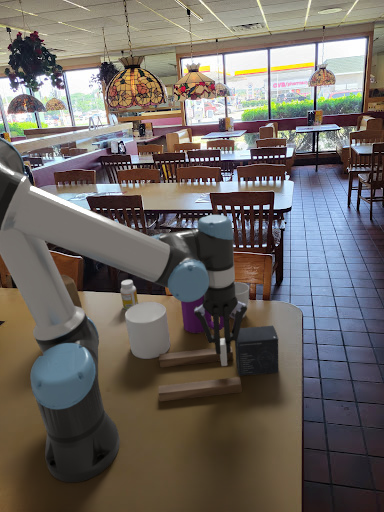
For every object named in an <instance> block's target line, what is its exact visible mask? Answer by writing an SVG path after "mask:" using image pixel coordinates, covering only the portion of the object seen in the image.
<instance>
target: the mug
mask: <svg viewBox="0 0 384 512" xmlns="http://www.w3.org/2000/svg"><path fill="white" fill-rule="evenodd" d="M203 300H204V295H203V296H202V297H201V298H199V299H198V300H195V301H192V302H182V301H180V304H181V305H180V306H181V315H182V323H183V329H184V330H185V331H187V332H189V333H191V334H192V333H193V334H201V333H205V332H204V330H203V327H202V325H201V322H200V320H199V319H198V318H197V317H196V316H195V311H194V308H195V307H199V306H201V305H202V302H203ZM204 311H205V314H204V316H205V318H206V321H207V324H208V326H209V329H212V330H213V331H214V325H213V317H212V316H211V315H210V314H209V313H208V312H207V311H206V310H204ZM222 329H224V323H223V317H219V330H220V331H221V330H222Z"/></svg>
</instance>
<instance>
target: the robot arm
mask: <svg viewBox="0 0 384 512" xmlns="http://www.w3.org/2000/svg"><path fill="white" fill-rule="evenodd" d="M24 163H25V162H24V159H23V157H22V155H21V153H20V151H19V150H18V149H17V147H15V146H14V145H13V144H12V143H11V142H9V141H8V140H7V139H4V138H2V137H0V257H1V259H2V261H3V262H4V265H5V267H6V268H7V270H8V272H9V274H10V276H11V278H12V280H13V282H14V284H15V285H16V287H17V289H18V291H19V293H20V296H21V297H22V299H23V301H24V303H25V305H26V307H27V308H28V311H29V313H30V315H31V316H32V318H33V320H34V323H35V326H34V328H33V330H32V334H33V337H34V340H36V343H37V345H38V346H39V348H40V350H41V353H42V355H39V356H38V357H37V358H36V359H35V360H34V363H33V364H32V367H31V370H30V374H29V375H30V386H31V389H32V394H33V396H34V398H35V401H36V404H37V407H38V409H39V413H40V416H41V419H42V422H43V425H44V428H45V431H46V440H45V441H46V442H45V450H44V455H45V456H44V457H45V458H44V459H45V462H46V465H47V469H48V471H49V473H50V474H51V476H53V477H54V479H57V480H58V481H62V482H65V483H80V482H83V481H87V480H89V479H92V478H93V477H96V476H98V475H99V474H101V473H102V472H104V471H105V469H107V468H108V467H109V466H110V465H111V463H113V461H114V460H115V458H116V457H117V454H118V452H119V449H120V445H121V444H120V443H121V442H120V441H121V440H120V434H119V431H118V428H117V425H116V423H115V421H113V419H112V418H111V417H110V415H109V414H108V413H107V412H106V410H105V407H104V403H103V399H102V393H101V389H100V385H99V345H100V339H99V337H100V335H99V332H98V329H97V326H96V324H95V322H94V321H93V320H92V319H91V318H90V317H89V316H87V314H86V311H85V310H84V309H83V307H82V308H80V307H76V306H74V304H73V302H72V300H71V298H70V296H69V293H68V291H67V289H66V287H65V285H64V282H63V280H62V278H61V276H60V275H61V274H60V271H59V269H58V267H57V265H56V262H55V261H54V258H53V256H52V254H51V251H50V250H49V248H48V245H47V243H49V244H52V245H55V246H57V247H59V248H63V249H66V250H67V251H70V252H73V253H76V254H78V255H82V256H84V257H87V258H88V259H91V260H94V261H97V262H100V263H102V264H104V265H107V266H110V267H112V268H115V269H118V270H120V271H123V272H125V273H128V274H131V275H134V276H136V277H138V278H141V279H143V280H146V281H149V282H152V283H154V284H157V285H159V286H162V287H164V288H167V289H168V292H169V293H170V294H171V295H172V296H173V297H174V298H175V299H176V300H178V301H180V302H181V301H182V302H192V301H195V300H198V299H199V298H201V297H202V296H203V295H204V300H203V302H202V305H201V306H199V307H195V308H194V311H195V316H196V317H197V318H198V319H199V320H200V322H201V325H202V327H203V330H204V332H203V333H204V335H205V338H206V340H207V343H208V344H212V343H213V344H214V348H215V350H216V354H220V360H221V361H220V365H221V367H226V366H228V360H227V353H230V352H231V347H232V346H231V345H232V342H233V341H234V342H235V341H236V340H237V339H238V335H239V331H240V328H241V326H242V322H243V318H244V317H243V315H244V313H245V312H246V313H247V311H246V310H248V306H246V304H245V302H239V301H238V300H237V298H236V296H235V282H236V281H235V280H236V279H235V278H236V277H235V261H234V258H235V257H234V233H233V231H234V230H233V224H232V221H231V219H230V217H228V216H226V215H222V214H209V215H206V216H203V217H200V218H199V219H198V221H197V227H196V228H192V229H188V230H181V231H176V232H175V231H174V232H168V233H159V234H155V235H148V234H145V233H143V232H141V231H139V230H135V229H133V228H131V227H128V226H126V225H124V224H122V223H120V222H118V221H115V220H112V219H110V218H109V217H105V216H104V215H102V214H99V213H96V212H94V211H92V210H89V209H88V208H85V207H82V206H80V205H78V204H76V203H73V202H72V201H69V200H67V199H64V198H62V197H60V196H57V195H55V194H53V193H51V192H48V191H46V190H43V189H41V188H39V187H36V186H34V185H33V184H32V183H31V182H30V179H29V177H28V176H27V175H25V174H26V173H25V172H26V169H25V168H26V167H25V164H24ZM46 242H47V243H46ZM235 307H236V309H237V310H236V314H235V319H233V324H232V329H231V328H230V327H231V326H230V325H231V324H230V321H231V319H230V318H231V317H230V314H231V313H232V311H233V310H234V308H235ZM204 310H206V311H207V312H208V313H209V314H210V315H211V317H212V321H213V325H214V330H213V334H212V332H211V330H210V329H211V328H209V326H208V324H207V321H206V318H205V316H204V314H205V311H204ZM220 317H223V323H224V327H223V337H222V338H221V335H220V333H221V332H220V331H221V330H219V323H220ZM230 346H231V347H230Z"/></svg>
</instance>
